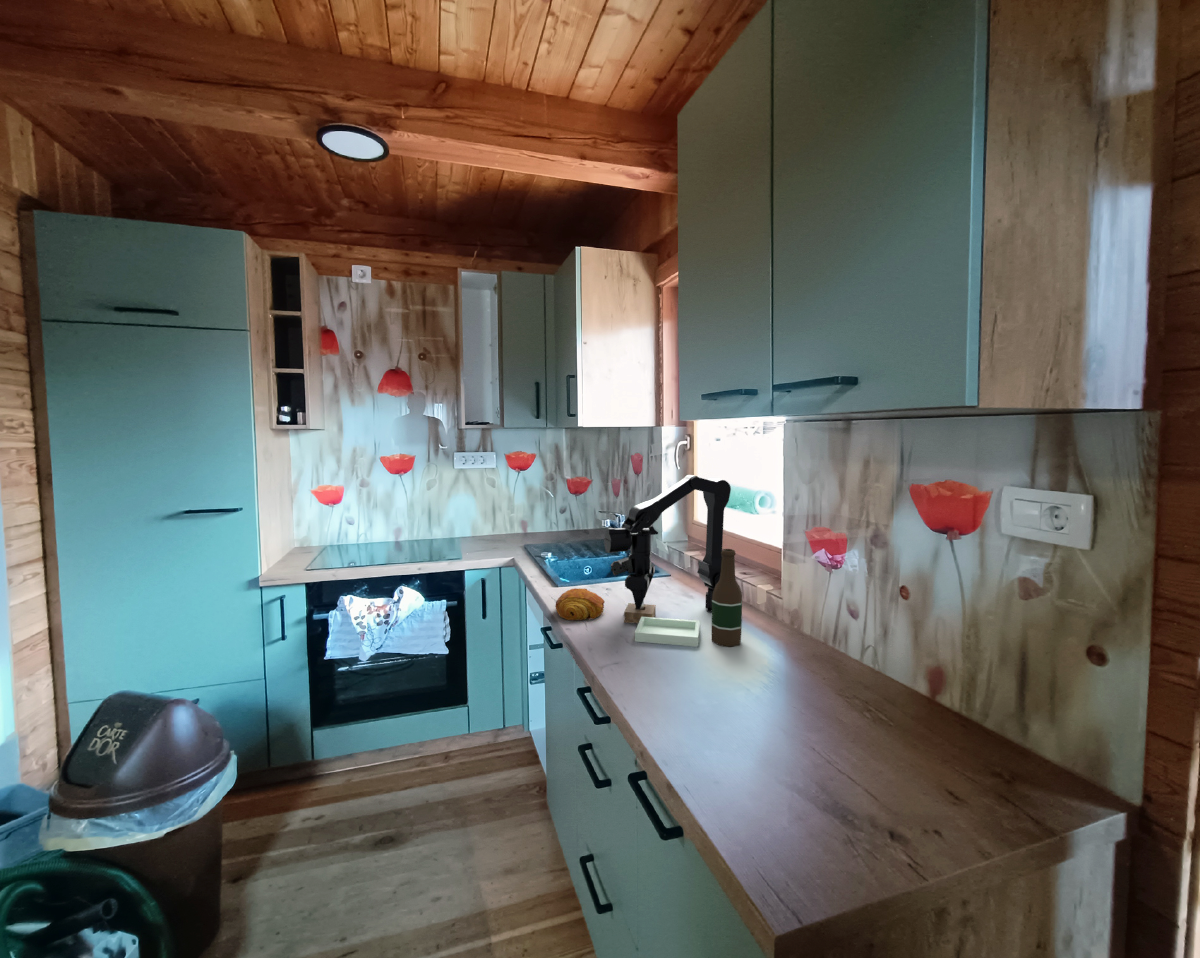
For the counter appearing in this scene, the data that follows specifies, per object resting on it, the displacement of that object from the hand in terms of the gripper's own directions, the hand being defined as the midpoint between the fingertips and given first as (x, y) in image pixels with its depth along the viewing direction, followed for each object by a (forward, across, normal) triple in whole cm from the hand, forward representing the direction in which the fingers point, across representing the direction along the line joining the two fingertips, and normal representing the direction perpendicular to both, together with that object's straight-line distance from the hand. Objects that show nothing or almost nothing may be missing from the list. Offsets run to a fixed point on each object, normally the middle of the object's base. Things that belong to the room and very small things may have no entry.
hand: (640, 603), depth 154 cm
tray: (+4, +11, +9) cm, 15 cm away
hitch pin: (+4, 0, 0) cm, 5 cm away
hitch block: (+4, 0, 0) cm, 4 cm away
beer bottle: (+5, +12, +24) cm, 27 cm away
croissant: (+5, -1, -18) cm, 19 cm away
